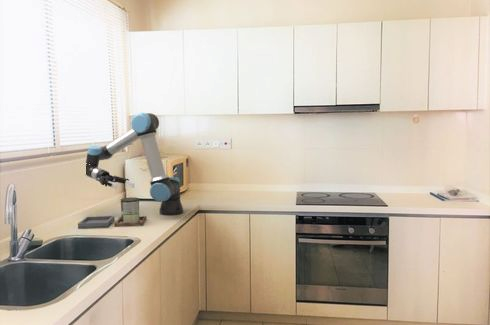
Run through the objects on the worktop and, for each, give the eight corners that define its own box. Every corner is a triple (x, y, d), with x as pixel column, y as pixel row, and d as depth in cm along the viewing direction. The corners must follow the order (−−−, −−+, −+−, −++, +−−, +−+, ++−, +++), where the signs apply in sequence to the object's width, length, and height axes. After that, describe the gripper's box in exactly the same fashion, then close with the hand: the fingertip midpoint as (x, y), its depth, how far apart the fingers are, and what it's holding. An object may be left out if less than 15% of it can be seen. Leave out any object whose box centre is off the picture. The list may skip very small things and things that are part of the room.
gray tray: (114, 220, 243) (114, 215, 243) (107, 227, 227) (107, 222, 227) (86, 221, 242) (86, 216, 242) (78, 228, 226) (77, 223, 226)
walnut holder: (146, 219, 246) (146, 216, 245) (142, 225, 230) (142, 222, 230) (120, 220, 244) (120, 217, 244) (114, 226, 229) (114, 223, 229)
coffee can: (118, 223, 237) (116, 199, 235) (133, 220, 245) (132, 196, 243) (128, 225, 230) (127, 201, 229) (143, 222, 238) (142, 198, 237)
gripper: (115, 180, 262) (139, 190, 252) (82, 182, 240) (107, 193, 230) (117, 169, 261) (141, 179, 251) (85, 169, 239) (109, 180, 229)
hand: (125, 186), depth 240 cm, fingers open, 13 cm apart
